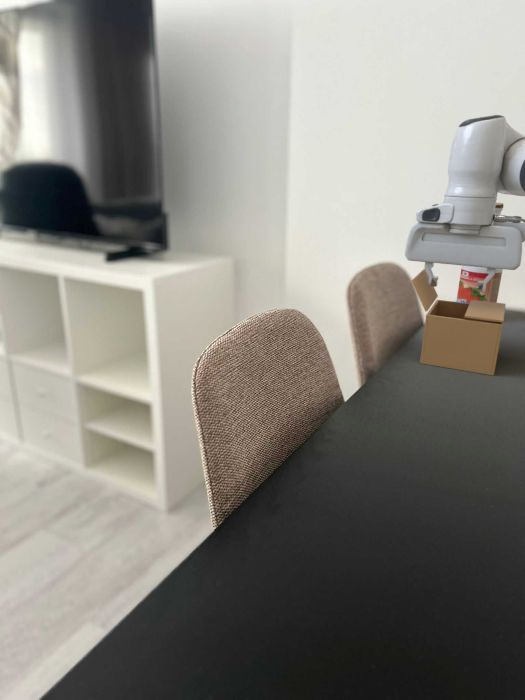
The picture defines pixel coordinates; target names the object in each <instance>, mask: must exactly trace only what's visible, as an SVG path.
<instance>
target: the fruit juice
mask: <svg viewBox="0 0 525 700" xmlns="http://www.w3.org/2000/svg"><path fill="white" fill-rule="evenodd" d="M503 209H504V203H503V202H496V206H495V212H494V215H502V211H503ZM493 221H494V220H493ZM503 271H504V269H496V270H495V274H494V276H493V277H492V278H491V279H490V280H489V282H488V283H487V285H486V290H485V292H479V291H477V287H478V281H484V279H485V278H486V277H487V276H488V275H489V274H487V268H485V267H474V266H463V265H461V268H460V274H459V282H458V289H457V294H456V301H455V302H461V303H470V302H471V300H477V301H486V302H495V303H498V298H499V292H500V287H501V281H502V276H503V275H502V274H503Z"/></svg>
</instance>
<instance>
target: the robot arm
mask: <svg viewBox="0 0 525 700" xmlns="http://www.w3.org/2000/svg"><path fill="white" fill-rule="evenodd" d="M447 174H448V183H447V186H446V189H445V191H444V197H443V201H442V203H435V204H432V205H431V206H427V207H423V208H420V209H418V210H417V211H416V214H415V220H416V221H417V222H416V223H414V224H413V225H412V227H411V228H410V230H409V232H408V236H407V240H406V244H405V250H404V256H405V258H406V260H407V261H410V262H421V263H424V267H423V269H425V270H426V272H427V275H428V277H429V283H428V286H433V287H434V288H436V287H438V283H439V282H438V280H439V276H437V275H435V274H434V272H433V270H432V268H434V266H435V264H442V265H443V264H444V265H452V266H453V265H454V266H462V265H463V266H474V267H485V268H487V274H489V275H488V276H487V277H486V278H485V279H484V281H478V287H477V291H479V292H485V290H486V285H487V283H488V282H489V280H490V279H491V278H492V277H493V276H494V274H495V270H496V269H503V270H508V271H509V270H510V271H515V270H517V269H519V267H520V266H521V264H522V256H523V243H524V242H525V219H524V218H522V216H518V215H513V216H512V215H511V216H510V215H505V214H504V215H503V214H501V215H494V212H495V206H496V203H497V200H498V193H500V194H502V195H507V196H508V195H509V196H516V197H525V135H523V134H522V133H520V132H518V131H517V130H515V129H514V128H513V127H512V126H511V125H510V124H509V123H508V122H507V119H506V117H505V116H504V115H501V114H493V115H487V116H482V117H481V116H480V117H474V118H469V119H466V120H464V121H462V122H461V123H460V124H459V125H458V127H457V128H456V131H455V132H454V136H453V140H452V143H451V148H450V153H449V159H448V166H447ZM493 220H494V221H493Z"/></svg>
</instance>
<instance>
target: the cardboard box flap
mask: <svg viewBox="0 0 525 700" xmlns="http://www.w3.org/2000/svg"><path fill="white" fill-rule="evenodd" d="M411 283H412V285H413V287H414V289H415V292H416V294H417V296H418V298H419V300H420V303H421V306H422V308H423V309H424V312H429V310H430V309H431V308H432V306H433V305H434V303H435V302H436V300H437V298H438V297H439V296H438V293H437V291H436V287H433V286H428V283H429V277H428V275H427V272H426V270H425V268H423V269H422V270H421V271H420V272H419V273H418V274H417V275H416V276H414V278H412V279H411Z"/></svg>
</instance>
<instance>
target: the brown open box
mask: <svg viewBox="0 0 525 700" xmlns="http://www.w3.org/2000/svg"><path fill="white" fill-rule="evenodd" d="M505 313H506V303H503V302H497V303H495V302H486V301H477V300H471V302H470V303H461V302H456V301H452V300H443V299H436V300H435V301H434V302H433V304H432V305H431V307H430V308H429V309H428V311H427V313H426V315H425V319H424V320H425V321H424V328H423V335H422V343H421V351H420V358H419V364H421V365H422V364H423V365H428V366H434V367H440V368H446V369H450V370H451V369H452V370H458V371H465V372H469V373H470V372H471V373H476V374H482V375H488V376H493V377H495V371H496V367H497V366H496V365H497V361H498V355H499V350H500V344H501V339H502V333H503V328H504V321H505Z"/></svg>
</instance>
